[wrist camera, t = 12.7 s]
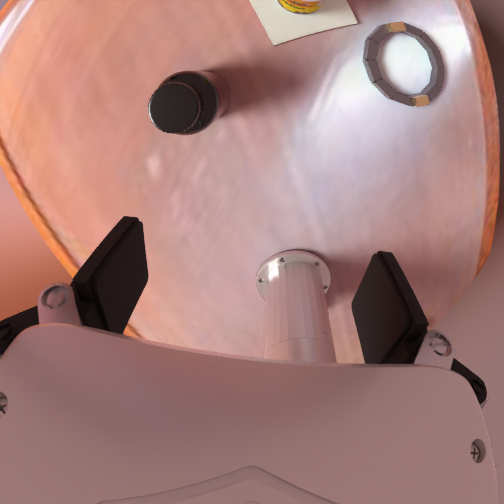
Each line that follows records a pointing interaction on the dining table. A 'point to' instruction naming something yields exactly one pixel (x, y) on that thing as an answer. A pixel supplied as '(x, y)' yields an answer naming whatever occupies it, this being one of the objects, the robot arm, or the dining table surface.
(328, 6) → the coaster
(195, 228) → the dining table surface
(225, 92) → the supplement bottle
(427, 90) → the collar
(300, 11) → the supplement bottle
